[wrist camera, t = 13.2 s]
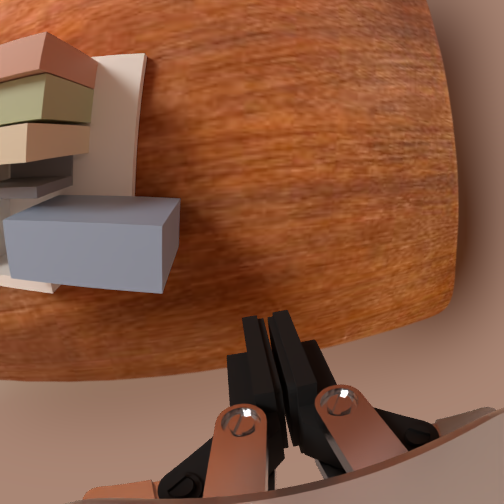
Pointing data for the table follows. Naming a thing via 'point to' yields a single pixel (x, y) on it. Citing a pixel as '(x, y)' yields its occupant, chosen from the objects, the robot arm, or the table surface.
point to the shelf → (103, 150)
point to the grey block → (95, 241)
